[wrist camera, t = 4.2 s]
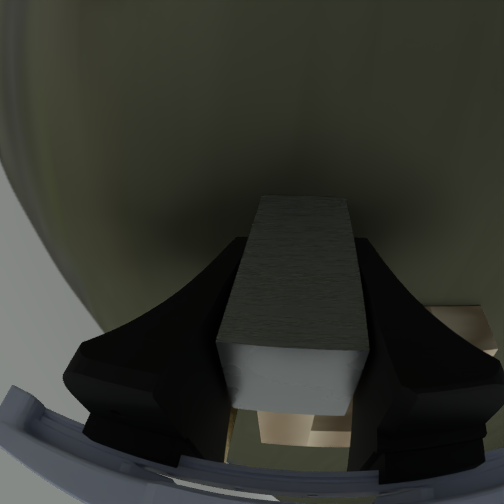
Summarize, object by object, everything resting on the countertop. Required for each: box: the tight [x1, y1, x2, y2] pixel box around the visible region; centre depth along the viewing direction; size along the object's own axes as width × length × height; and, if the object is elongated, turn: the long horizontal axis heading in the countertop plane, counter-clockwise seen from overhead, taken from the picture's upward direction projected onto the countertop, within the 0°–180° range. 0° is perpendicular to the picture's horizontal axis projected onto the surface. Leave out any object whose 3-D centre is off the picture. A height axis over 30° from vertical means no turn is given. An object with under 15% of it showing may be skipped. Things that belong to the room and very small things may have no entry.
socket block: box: [257, 306, 498, 447], centre depth 16 cm, size 12×12×3 cm
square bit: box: [215, 195, 370, 416], centre depth 10 cm, size 3×3×7 cm
